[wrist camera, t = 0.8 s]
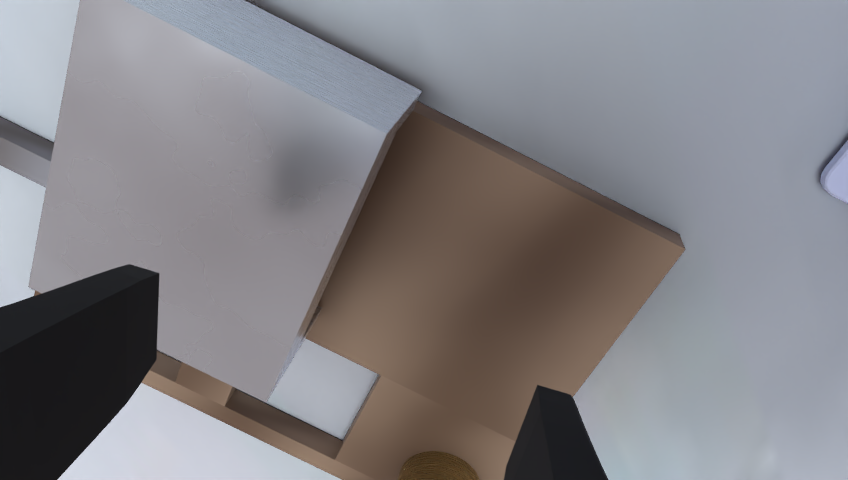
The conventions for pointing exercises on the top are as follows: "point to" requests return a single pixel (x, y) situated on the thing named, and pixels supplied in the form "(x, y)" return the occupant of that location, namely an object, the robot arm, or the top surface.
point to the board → (446, 300)
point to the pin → (436, 467)
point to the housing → (214, 172)
